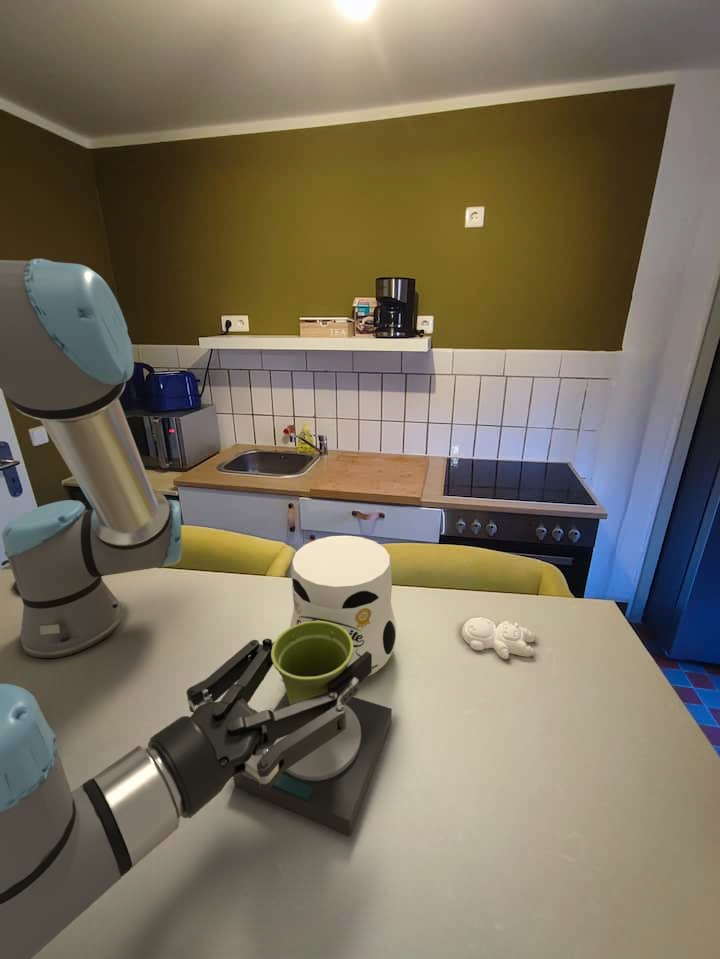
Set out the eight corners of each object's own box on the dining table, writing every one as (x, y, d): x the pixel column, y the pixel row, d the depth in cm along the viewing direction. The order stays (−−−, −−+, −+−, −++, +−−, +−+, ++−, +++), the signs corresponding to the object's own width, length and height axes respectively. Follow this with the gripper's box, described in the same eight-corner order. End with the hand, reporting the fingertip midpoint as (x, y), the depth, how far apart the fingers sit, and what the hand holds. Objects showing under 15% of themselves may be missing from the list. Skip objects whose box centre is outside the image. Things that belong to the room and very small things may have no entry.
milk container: (302, 707, 62) (295, 602, 55) (284, 629, 77) (276, 541, 71) (412, 677, 67) (417, 578, 60) (374, 610, 82) (375, 526, 76)
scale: (234, 785, 51) (231, 766, 50) (296, 690, 64) (294, 673, 63) (350, 836, 46) (349, 816, 45) (391, 722, 59) (392, 704, 58)
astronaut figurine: (530, 668, 68) (533, 653, 67) (456, 644, 73) (457, 630, 72) (537, 635, 75) (539, 621, 74) (469, 615, 81) (470, 601, 79)
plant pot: (344, 745, 47) (342, 684, 44) (264, 730, 49) (257, 671, 46) (361, 680, 56) (360, 625, 53) (292, 669, 57) (288, 616, 55)
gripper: (123, 740, 45) (288, 631, 61) (237, 909, 32) (410, 714, 48) (108, 686, 43) (285, 586, 59) (225, 844, 30) (412, 661, 46)
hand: (341, 644), depth 54 cm, fingers closed on plant pot, 8 cm apart
